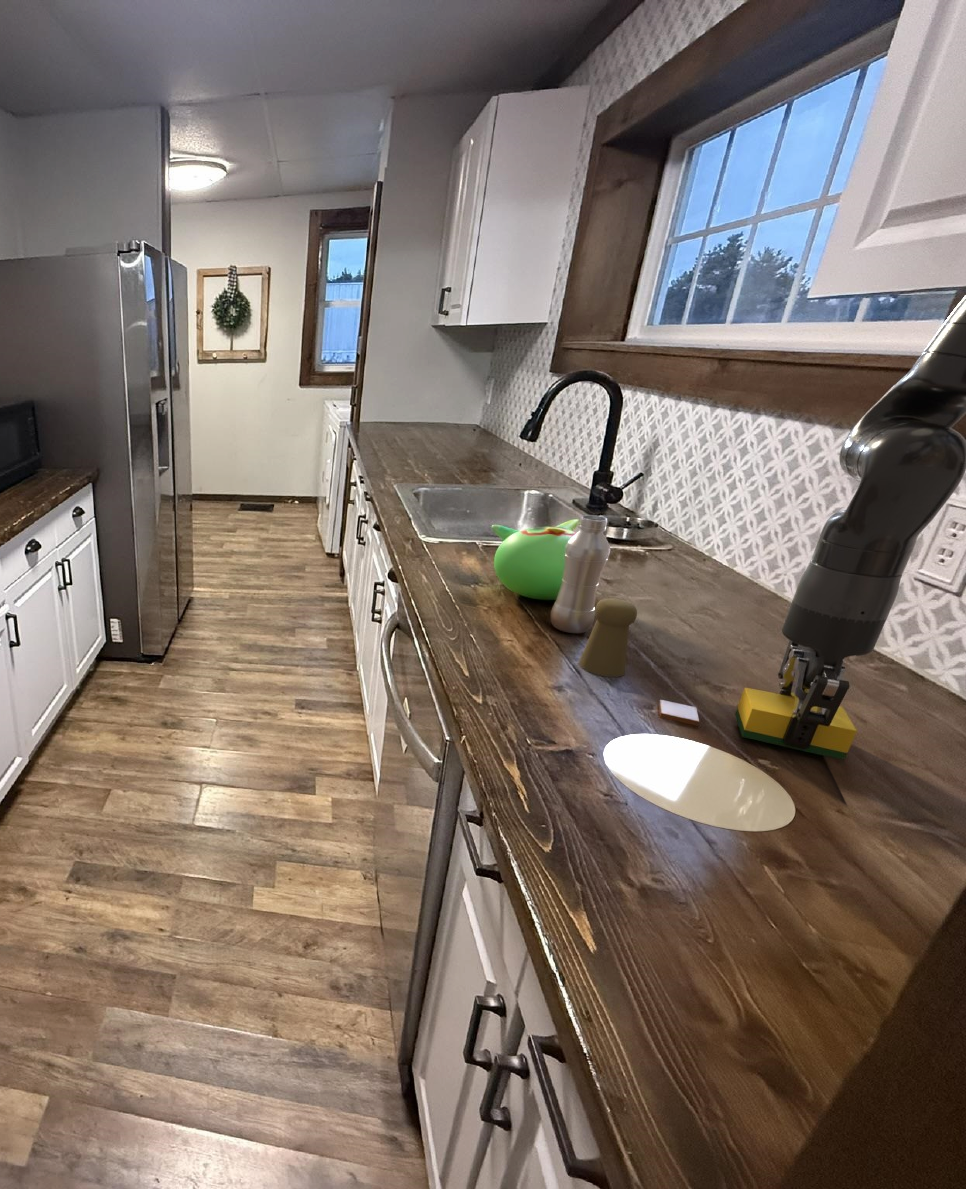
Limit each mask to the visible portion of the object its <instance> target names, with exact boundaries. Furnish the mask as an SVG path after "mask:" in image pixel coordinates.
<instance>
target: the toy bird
mask: <svg viewBox="0 0 966 1189" xmlns="http://www.w3.org/2000/svg"><path fill="white" fill-rule="evenodd" d="M579 524H580V519H577V518H573V519H570V520H567V521H565V522H563V523H562V522H561V523H560V524H558V525H556V526H535V527H529V528H526V529H522V530H517V529H514V528H511V527H508V526H504V525H501V524H492V525H491V530H492V531H493V533H494V534H496V535H497V536H498V537H499V538H500V540H502V542H501V543H500V545H499V546H498V547H497V549H496V551H495V554H494V559H493V566H494V573H495V575H496V577H497V578H498V580H499V582H500V583H501V584H502V585H503V586H504V587H505V588H506V589H508V590H509V591H511V592H513V593H515V594H516V595H519V596H521V597H524V598H528V599H534V600H539V601H556V599H557V596H558V593H559V589H560V586H561V583H562V578H563V570H564V556H565V546H566V544H567V543H568V541H569V540H570V539H571V538H572V537H573V536H574V535H575V534H576V533H578V531H575V529H576V528H577V527H578V526H579Z"/></svg>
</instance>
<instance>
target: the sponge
mask: <svg viewBox="0 0 966 1189" xmlns="http://www.w3.org/2000/svg"><path fill="white" fill-rule="evenodd" d="M794 703H795V698H794V697H791V696H786V695H781V694H779V693H777V692H771V691H766V690H762V689H761V690H760V689H755V688H750V687H744V688H743V690H742V694H741V696H740V699H739V702H738V705H737V707H736V710H735V713H734V715H735V719H736V721H737V724H738V728H739V730H740V731H739V732H740V735H741V737H742V738H745V739H751V740H755V741H758V742H763V743H767V744H772V745H776V746H781V747H784V748H789V749H792V750H796V751H800V752H801V751H802V752H806V753H810V754H815V755H819V756H826V757H827V756H828V757H832V758H834V759H835V758H836V759H840V760H845V759H846V756H847V754H848V752H849V751H850V748H851V746H852V743H853V741H854V740H855V737H856V735H857V732H858V730H857V728H856V726H855V725H854V724H853V722H852V720H851V719H850V717H849V715H848V713H847V712H846V710H845V708H844V707H843V706H841V705H840V706H839V708H838V710H837V712H836V714H835V716H834V718H833V720H832V722H831V724H830V725H829V726H823V725H818V727H817V729H816V732H815V734H814V736H813V739H812V741H811V744H810V746H809V748H807V749H800V748H796V747H791V746H787V745H785V744H784V742H783V736H784V734H785V731H786V729H787V726H788V724H789V721H790V719H791V716H792V710H793V708H794ZM817 708H818V707H812V708H811V710H810V711H815V712H817Z"/></svg>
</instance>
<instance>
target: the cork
mask: <svg viewBox="0 0 966 1189" xmlns="http://www.w3.org/2000/svg"><path fill="white" fill-rule="evenodd" d="M594 607H595V611H594V612H595V616H594V618H596V619H595V623H594V625H593V627H592V630H591V633H590V635H589V637H588V639H587V642H586V644H585V646H584V649H583V651H582V653H581V656H580V659H579V661H578V666H579V667H580V668H582V669H583V670H584V671H587V672H588V673H591V674H593V675H597V676H601V677H608V678H618V677H619V678H620V677H622V676H624V675H625V674H626V665H627V655H628V643H629V635H630V634H629V633H630V632H629V631H630V626H631V625H632V624H634V623H635V621H636V619H637V618H638V617H637V616H638V609H637V607H636V605H635V604H633V603H632V602H630V601H627V600H624V599H620V598H613V597H609V598H608V597H607V598H603V599H600V600H599V601H598V602H597V603H596V604H595V606H594Z"/></svg>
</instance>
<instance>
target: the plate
mask: <svg viewBox="0 0 966 1189" xmlns="http://www.w3.org/2000/svg"><path fill="white" fill-rule="evenodd" d="M603 760H604V762H605V765H606V768H608V770H609V771H610V773H611V774H612V775H613V776H614V777H615V779H616V780H618V781H619V782H620V784H622V785H624V786H625V787H626V788H627V789H628V790H630V791H631V792H633V793H634V794H636V795H637V796H638V797H640V798H642V799H643V800H645V801H647V802H649V803H651V805H654V806H656V807H658V808H661V809H662V810H664V811H666V812H669V813H670V814H671V813H672V814H674V815H677V816H678V817H682V818H684V819H687V820H690V821H693V822H697V823H699V824H703V825H707V826H711V827H714V828H720V829H724V830H731V831H739V832H750V833H751V832H753V833H754V832H756V833H759V832H769V831H775V830H779V829H782V828H784V827H786V826H788V825H789V824H790V823H792V822H793V820H794V818H795V816H796V806H795V802H794V801H793V799H792V797H791V795H790V794H789V793H788V792H787V790H786V789H785V788H784V787H782V785H781V784H780V783H779V782H777V781H776V780H775V779H774V778H773V777H771V776H770V775H769V774H767V773H766V772H764V771H763V770H761V769H760V768H758V767H757V766H754V765H753V764H750V763H749V762H747V761H746V760H744V759H742V758H739V757H737V756H735V755H733V754H731V753H728V752H726V751H723V750H721V749H718V748H717V747H716V748H715V747H713V746H710V745H707V744H704V743H701V742H697V741H694V740H689V739H686V738H681V737H676V736H670V735H664V734H654V733H653V734H651V733H636V734H628V735H623V736H619V737H617V738H615V739H613V740H611V741H610V742H608V744H606V746H605V747H604V750H603Z"/></svg>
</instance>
